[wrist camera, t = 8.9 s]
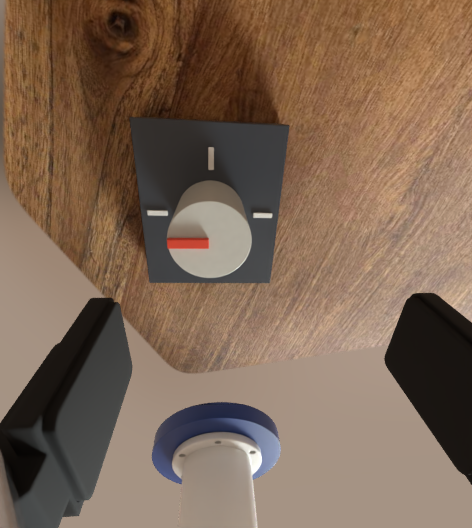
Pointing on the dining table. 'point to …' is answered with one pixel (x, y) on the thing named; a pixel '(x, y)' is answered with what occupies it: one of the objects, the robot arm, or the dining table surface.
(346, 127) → the dining table surface
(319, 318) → the dining table surface
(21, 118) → the dining table surface
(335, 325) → the dining table surface
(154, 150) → the lock panel
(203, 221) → the lock knob
